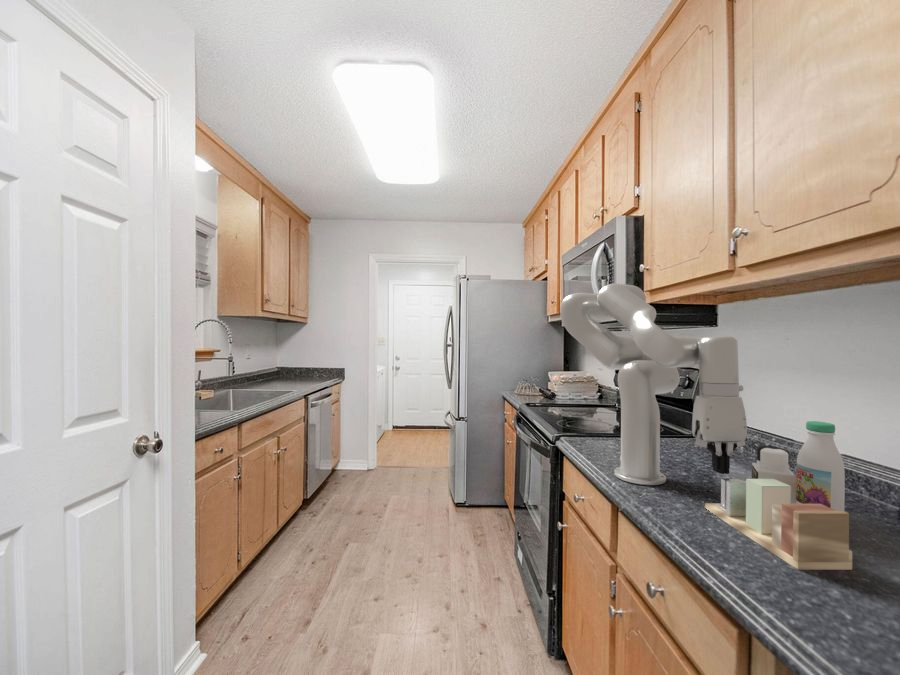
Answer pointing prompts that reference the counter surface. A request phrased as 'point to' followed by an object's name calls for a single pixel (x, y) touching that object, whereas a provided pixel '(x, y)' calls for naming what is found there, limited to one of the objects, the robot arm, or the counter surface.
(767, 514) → the pale green block
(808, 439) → the milk bottle
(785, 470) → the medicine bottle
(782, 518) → the panel
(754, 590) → the counter surface
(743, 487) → the bookend
